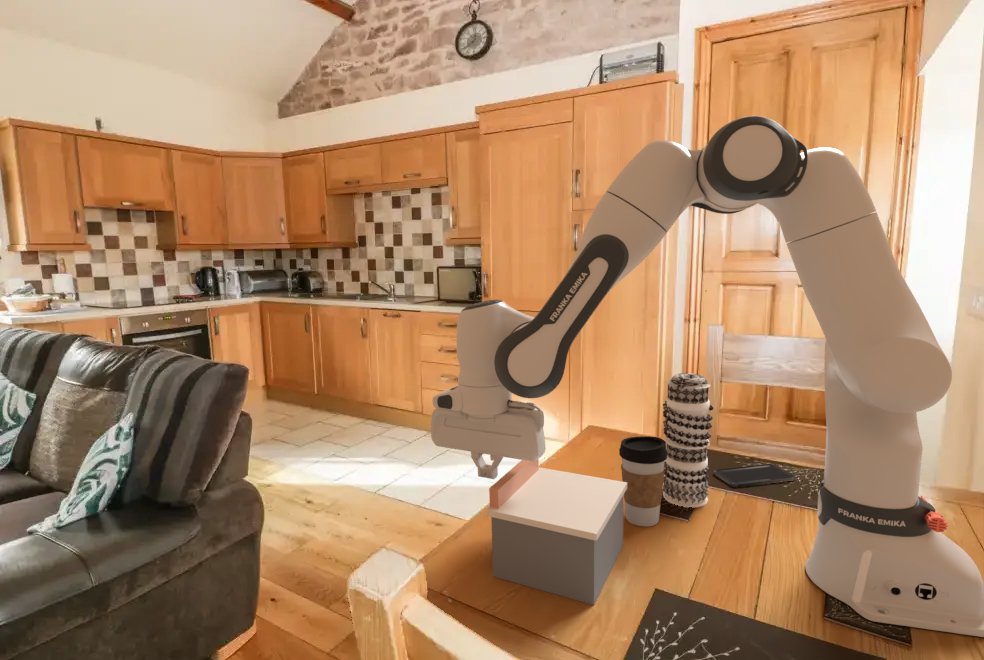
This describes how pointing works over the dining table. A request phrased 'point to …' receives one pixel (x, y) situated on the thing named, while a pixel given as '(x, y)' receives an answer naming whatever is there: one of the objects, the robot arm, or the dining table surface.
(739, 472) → the phone
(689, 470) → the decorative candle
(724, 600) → the dining table surface
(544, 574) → the storage box
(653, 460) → the coffee cup
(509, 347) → the robot arm
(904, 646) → the dining table surface
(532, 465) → the lid
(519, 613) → the dining table surface
